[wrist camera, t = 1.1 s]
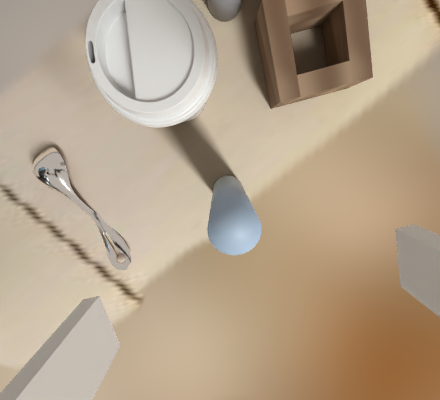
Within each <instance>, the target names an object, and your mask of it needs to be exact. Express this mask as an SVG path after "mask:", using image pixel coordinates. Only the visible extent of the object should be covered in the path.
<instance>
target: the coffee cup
mask: <svg viewBox="0 0 440 400" xmlns="http://www.w3.org/2000/svg"><path fill="white" fill-rule="evenodd" d="M85 46H86V54H87V59H88V64H89V68H90V72H91V74H92V77H93V80H94V82H95V84H96V86H97V88H98V90H99V91H100V93H101V94H102V96H103V97H104V99H105V100H106V101H107V102H108V103H109V105H110V106H111V107H112V108H113V109H114V110H115V111H117V112H118V113H119V114H120V115H122V116H123V117H125V118H126V119H128V120H130V121H132V122H134V123H137V124H140V125H143V126H148V127H168V126H172V125H176V124H178V123H181V122H186V121H190V120H192V119H194V118H196V117H197V116H198V115H199V114H200V113H201V112H202V111H203V109H204V107H205V104H206V100H207V99H208V97H209V95H210V93H211V91H212V88H213V86H214V83H215V79H216V74H217V67H218V55H217V47H216V42H215V38H214V35H213V32H212V30H211V27H210V25H209V23H208V21H207V20H206V18H205V16H204V15H203V14H202V12H201V11H200V10H199V8H198V7H197V6H196V5H195V4H194V3H193V1H191V0H98V1H97V3H96V4H95V6H94V8H93V10H92V12H91V14H90V17H89V20H88V23H87V28H86V35H85Z"/></svg>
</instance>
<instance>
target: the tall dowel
mask: <svg viewBox="0 0 440 400" xmlns="http://www.w3.org/2000/svg"><path fill="white" fill-rule="evenodd" d="M260 236H261V223H260V220H259V218H258V216H257V214H256V212H255V210H254V208H253V206H252V204H251V202H250V200H249V198H248V197H247V195H246V193H245V191H244V189H243V187H242V185H241V183H240V181H239V180H238V179H237V178H236V177H234V176H230V175H225V176H222V177H220V178H219V179H218V180H217V181H216V182H215V185H214V189H213V196H212V202H211V209H210V216H209V222H208V237H209V239H210V241H211V243H212V245H213V246H214V247H215V248H216V249H217V250H219V251H221V252H222V253H225V254H229V255H240V254H243V253H246V252H248V251H250V250H251V249H252V248H253V247H254V246H255V245H256V244H257V243H258V241H259V239H260Z"/></svg>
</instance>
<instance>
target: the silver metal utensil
mask: <svg viewBox="0 0 440 400" xmlns="http://www.w3.org/2000/svg"><path fill="white" fill-rule="evenodd" d="M32 171H33V174H34V176H35V178H36V179H37V180H38V181H39V182H40V183H41V184H43V185H45V186H46V187H49V188H51V189H53V190H56V191H58V192H60V193H62V194H64V195H65V196H67V197H68V198H70V199H71V200H72V201H74V202H75V203H76V204H77V205H78V206H79V207H80V208H81V209H82V210H83V211H84V212H85V213H86V214H87V215H88V216H89V217H90V219H91V220H92V221H93V222H94V224H95V225H96V227H97V229H98V231H99V233H100V236H101V239H102V242H103V244H104V247H105V250H106V253H107V255H108V258H109V260H110V262H111V263H112V265H113V266H114V267H115V268H116V269H119V270H126V269H128V267H129V266H130V264H131V261H132V256H131V253H130V250H129V248H128V247H127V245H126V243H125V242H124V240H123V239H122V237H121V236H120V235H119V234H118V232H117V231H115V230H114V229H112V228H111V227H110V226H108V225H107V224H106V223H105V222H104V221H103V220H102V218H101V217H100V216H99V215H98V214H97V213H96V212H94V211H93V210H92V209H90V208H89V207H88V206H87V205H86V204H85V203H84V202H82V201H81V200H80V199H79V197H78V196H77V195H76V194H75V193H74V191H73V189H72V187H71V185H70V182H69V177H68V172H67V168H66V165H65V162H64V160H63V158H62V157H61V155H60V154H59V152H58V151H57V150H56V149H55V148H53V147H49V148H47V149H46V150H44V151H43V152H41V153H40V154H39V155H38V156H37V157H36V159H35V160H34V162H33V166H32ZM105 232H108V234H109V236H110V237H111V239H112V241H113V242H114V244H115V246H116V247H117V249H118V251H119V252H120V253H123V254H124V255H125V257H126V260H125V262H123V263H120V262H118V260H117V258H116V257H117V255H116V253H115V251H114V250H113V248H112V246H111V245H110V243H109V241H108V240H107V238H106V236H105V235H104V233H105Z"/></svg>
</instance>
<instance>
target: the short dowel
mask: <svg viewBox="0 0 440 400" xmlns="http://www.w3.org/2000/svg"><path fill="white" fill-rule="evenodd" d="M241 2H242V0H207V3H208V9H209V11H210V13H211V15H212V16H213V17H214V18H215V19H217V20H219V21H223V22H225V21H230V20H232V19H233V18H235V17H236V15H237V14H238V13H239V10H240V8H241Z"/></svg>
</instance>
